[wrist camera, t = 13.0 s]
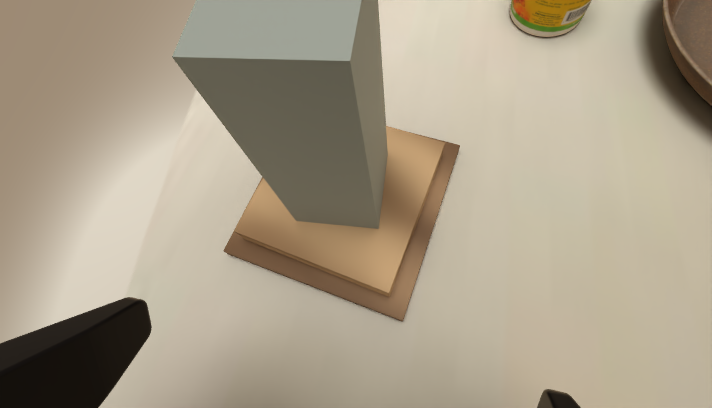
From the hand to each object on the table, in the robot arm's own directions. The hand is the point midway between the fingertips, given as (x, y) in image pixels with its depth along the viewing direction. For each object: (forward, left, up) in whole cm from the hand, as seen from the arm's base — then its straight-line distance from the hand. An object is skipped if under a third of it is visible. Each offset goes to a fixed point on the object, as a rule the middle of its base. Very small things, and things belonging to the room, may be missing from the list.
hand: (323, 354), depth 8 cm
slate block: (+8, +5, -11) cm, 15 cm away
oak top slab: (+8, +5, -13) cm, 16 cm away
